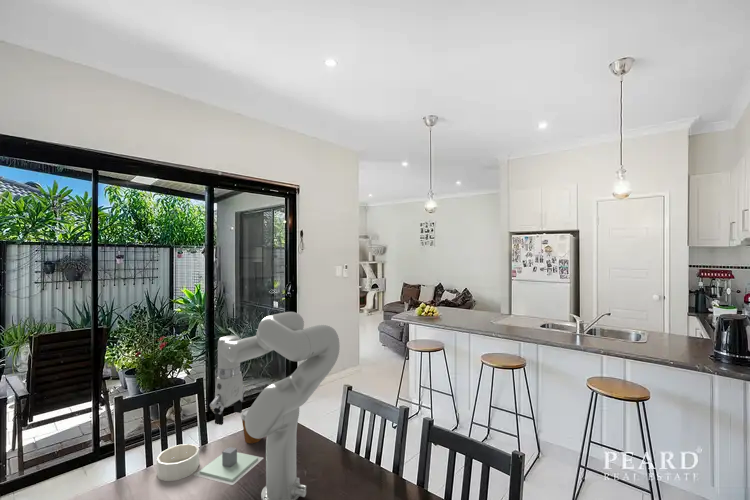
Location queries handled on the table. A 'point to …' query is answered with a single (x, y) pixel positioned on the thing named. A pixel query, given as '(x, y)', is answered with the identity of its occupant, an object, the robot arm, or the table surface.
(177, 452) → the bowl
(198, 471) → the mat
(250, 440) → the disposable coffee cup
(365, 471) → the table surface
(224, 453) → the lid
